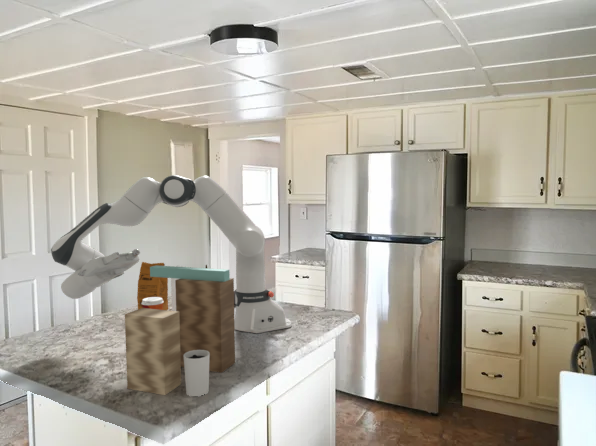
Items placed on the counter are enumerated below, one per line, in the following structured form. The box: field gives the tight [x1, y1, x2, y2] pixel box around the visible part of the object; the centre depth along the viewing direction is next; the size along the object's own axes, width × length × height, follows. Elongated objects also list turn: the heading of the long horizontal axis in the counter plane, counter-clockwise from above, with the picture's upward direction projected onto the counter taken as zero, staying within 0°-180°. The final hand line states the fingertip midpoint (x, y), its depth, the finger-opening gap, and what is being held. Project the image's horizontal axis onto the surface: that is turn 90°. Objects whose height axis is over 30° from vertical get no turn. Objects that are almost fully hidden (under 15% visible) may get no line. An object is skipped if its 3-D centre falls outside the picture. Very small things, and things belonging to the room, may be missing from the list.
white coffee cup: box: [183, 350, 210, 397], centre depth 117 cm, size 7×7×10 cm
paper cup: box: [141, 297, 164, 310], centre depth 162 cm, size 8×8×14 cm
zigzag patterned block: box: [124, 308, 182, 396], centre depth 121 cm, size 12×7×20 cm, turn 70°
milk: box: [170, 265, 185, 311], centre depth 185 cm, size 6×6×22 cm
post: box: [175, 277, 236, 373], centre depth 136 cm, size 15×8×26 cm, turn 70°
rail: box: [150, 265, 231, 282], centre depth 136 cm, size 26×3×3 cm, turn 70°
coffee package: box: [136, 261, 169, 310], centre depth 196 cm, size 10×12×22 cm
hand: (128, 252), depth 148 cm, fingers open, 8 cm apart
